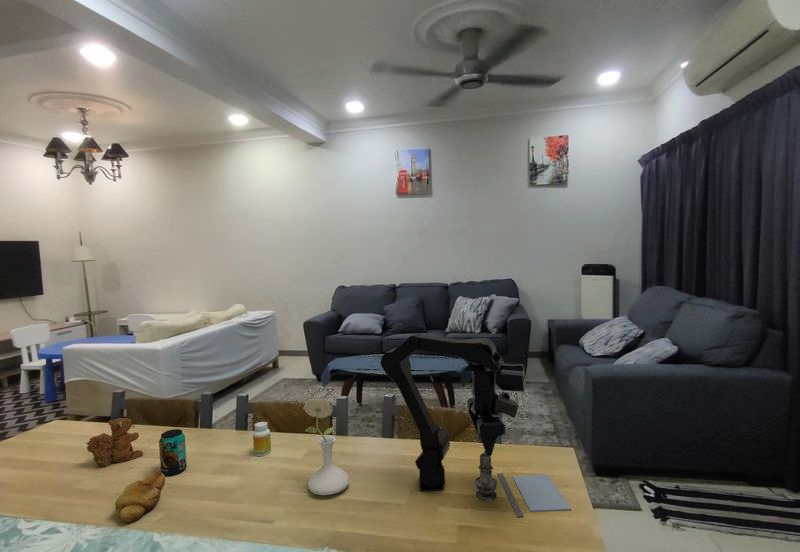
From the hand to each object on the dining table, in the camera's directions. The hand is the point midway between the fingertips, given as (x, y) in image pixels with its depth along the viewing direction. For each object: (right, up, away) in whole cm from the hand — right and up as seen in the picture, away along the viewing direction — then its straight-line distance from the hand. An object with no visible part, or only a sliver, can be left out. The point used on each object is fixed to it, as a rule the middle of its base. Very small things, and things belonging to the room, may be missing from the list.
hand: (485, 447), depth 111 cm
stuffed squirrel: (-116, -16, +29) cm, 120 cm away
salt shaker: (0, -13, 0) cm, 13 cm away
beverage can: (-92, -16, +20) cm, 95 cm away
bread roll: (-90, -17, 0) cm, 92 cm away
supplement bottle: (-68, -14, +30) cm, 75 cm away
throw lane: (+13, -12, +1) cm, 17 cm away
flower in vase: (-43, -14, +7) cm, 45 cm away
